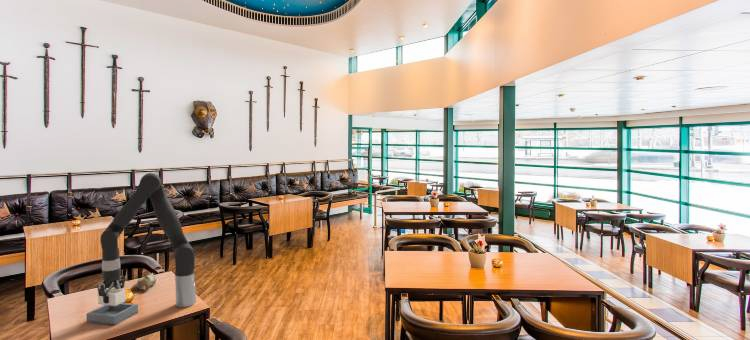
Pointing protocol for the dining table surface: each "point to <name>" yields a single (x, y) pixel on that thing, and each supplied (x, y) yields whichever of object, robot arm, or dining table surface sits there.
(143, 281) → the ceramic sculpture
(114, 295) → the cream crate
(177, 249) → the robot arm
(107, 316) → the tray
